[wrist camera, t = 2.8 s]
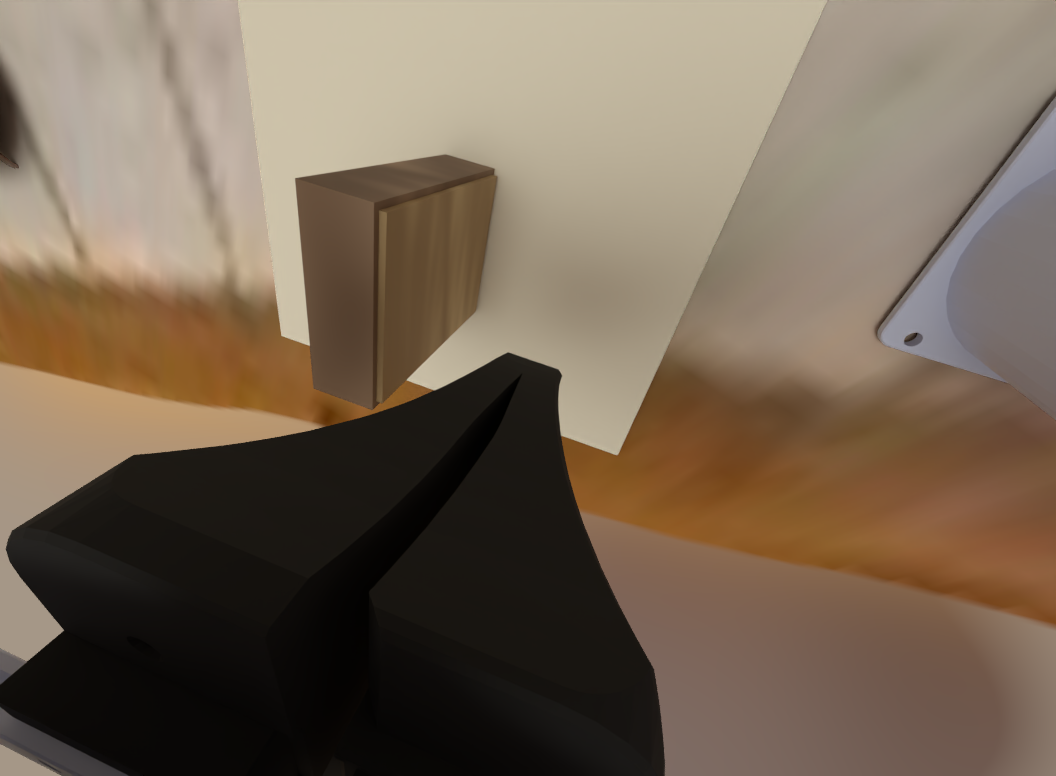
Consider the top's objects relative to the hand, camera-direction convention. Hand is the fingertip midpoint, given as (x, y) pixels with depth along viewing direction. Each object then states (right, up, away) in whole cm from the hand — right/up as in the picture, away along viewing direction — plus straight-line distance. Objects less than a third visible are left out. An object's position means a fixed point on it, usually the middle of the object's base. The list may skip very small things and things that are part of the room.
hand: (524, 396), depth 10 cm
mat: (-2, +7, +8) cm, 11 cm away
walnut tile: (-3, +6, +8) cm, 10 cm away
